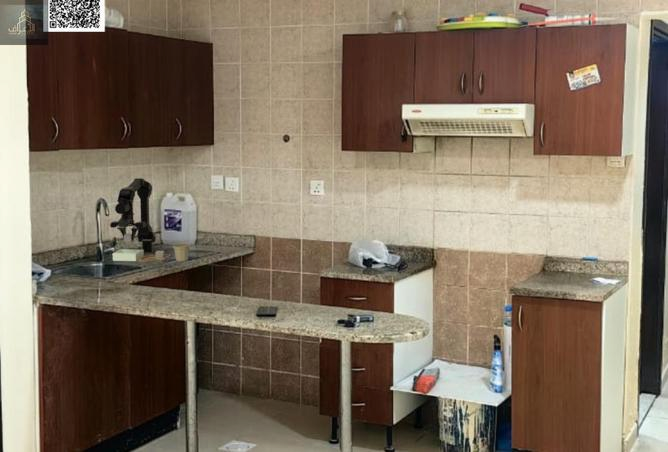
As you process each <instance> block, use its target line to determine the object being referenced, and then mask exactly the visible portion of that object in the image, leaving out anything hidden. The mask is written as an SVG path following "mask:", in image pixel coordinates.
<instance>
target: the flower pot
mask: <svg viewBox="0 0 668 452" xmlns="http://www.w3.org/2000/svg"><path fill="white" fill-rule="evenodd" d="M190 246H191V244H190V243H178V244H177V243H176V244H173V245H172V247H173V250H174V255H175V261H177V262H184V261H188V260H189V250H190Z"/></svg>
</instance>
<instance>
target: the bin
mask: <svg viewBox="0 0 668 452" xmlns="http://www.w3.org/2000/svg"><path fill="white" fill-rule="evenodd" d="M143 256H145V252H144V250H142V249H129V248H127V249H125V248H124V249H123V248H121V249H119V250H116V251H114V252H113V253H112V261H114V262H120V261H121V262H138V261H137V259H139V258H141V257H143Z"/></svg>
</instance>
